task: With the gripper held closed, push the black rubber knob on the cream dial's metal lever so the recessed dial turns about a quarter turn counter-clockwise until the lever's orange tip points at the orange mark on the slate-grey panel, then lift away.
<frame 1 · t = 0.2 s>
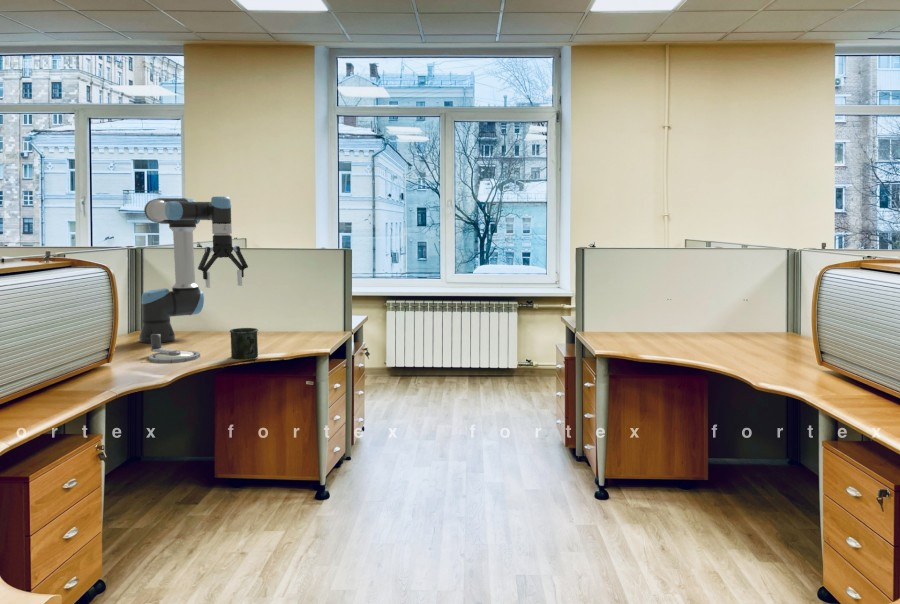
hand: (224, 286, 292), 28 cm above the table, fingers open, 13 cm apart
mug: (246, 361, 279), on the table
panel: (174, 361, 278), on the table
dial: (169, 346, 279), point 5 cm above the table, hinge at 0.0°
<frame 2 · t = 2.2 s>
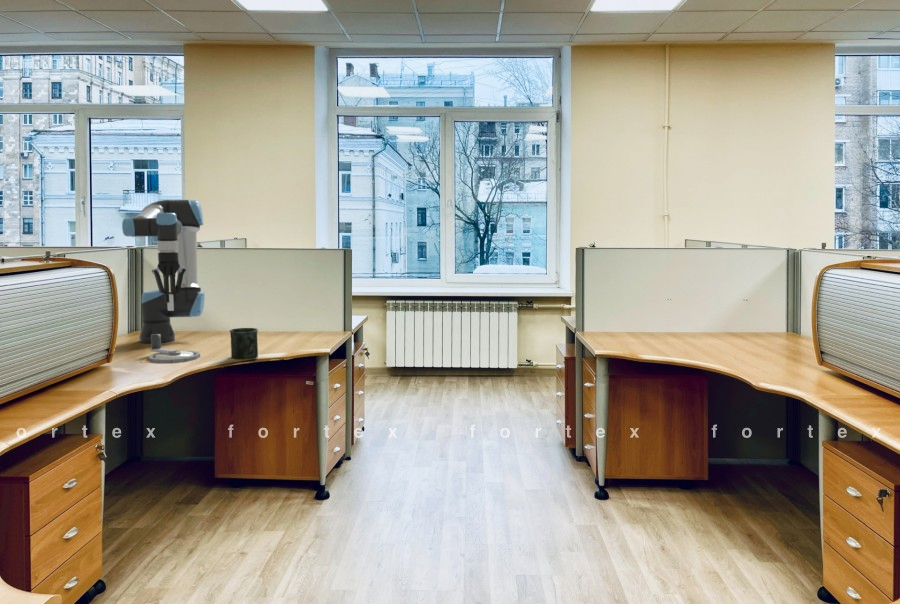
hand: (170, 310, 286), 19 cm above the table, fingers closed
nothing on the table moved.
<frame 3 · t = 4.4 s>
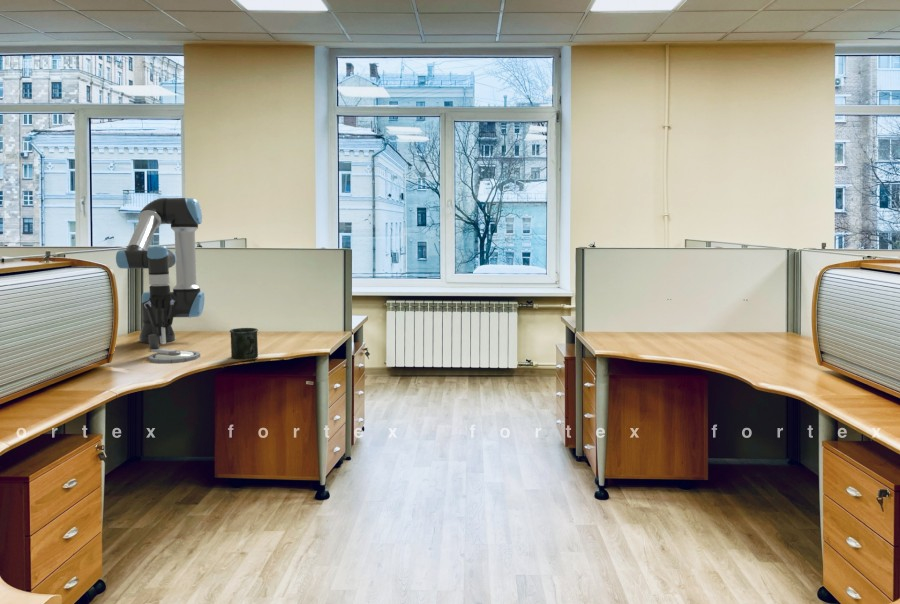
hand: (163, 343, 285), 6 cm above the table, fingers closed
dial: (168, 346, 279), point 5 cm above the table, hinge at 5.7°, touching gripper
everything else where it was.
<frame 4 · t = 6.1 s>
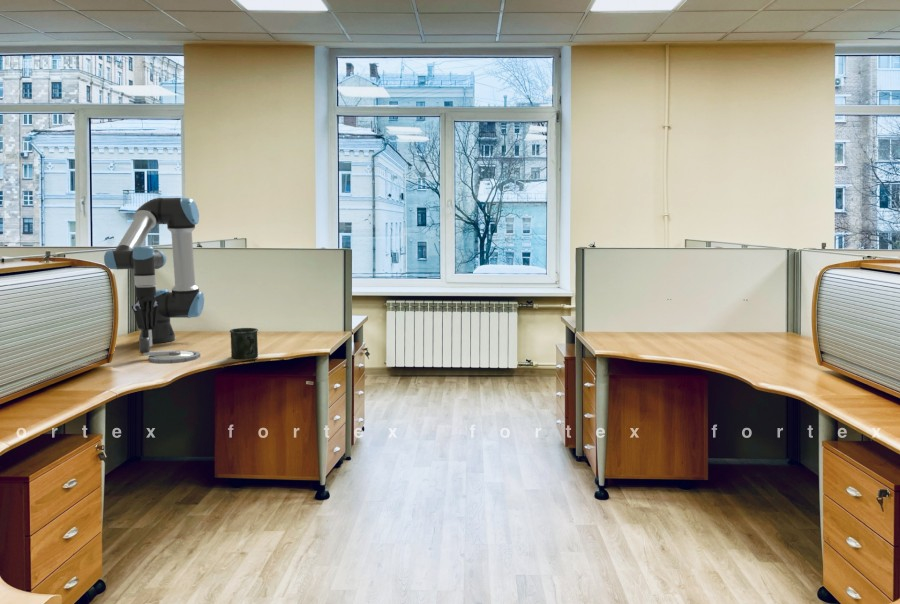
hand: (148, 346, 278), 6 cm above the table, fingers closed
dial: (166, 347, 277), point 5 cm above the table, hinge at 44.6°, touching gripper
everything else where it was.
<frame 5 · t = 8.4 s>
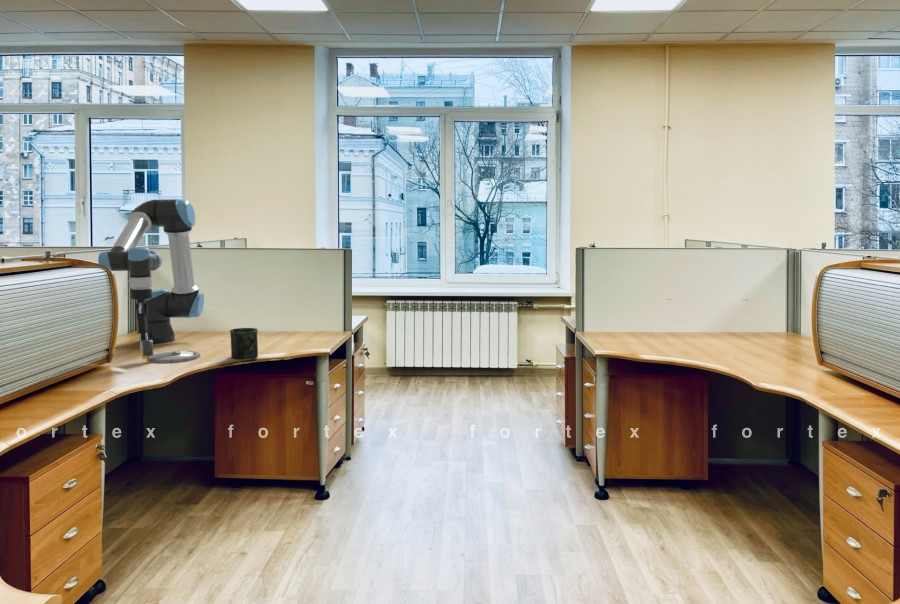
hand: (144, 349, 272), 6 cm above the table, fingers closed
dial: (167, 348, 275), point 5 cm above the table, hinge at 82.1°, touching gripper
everything else where it was.
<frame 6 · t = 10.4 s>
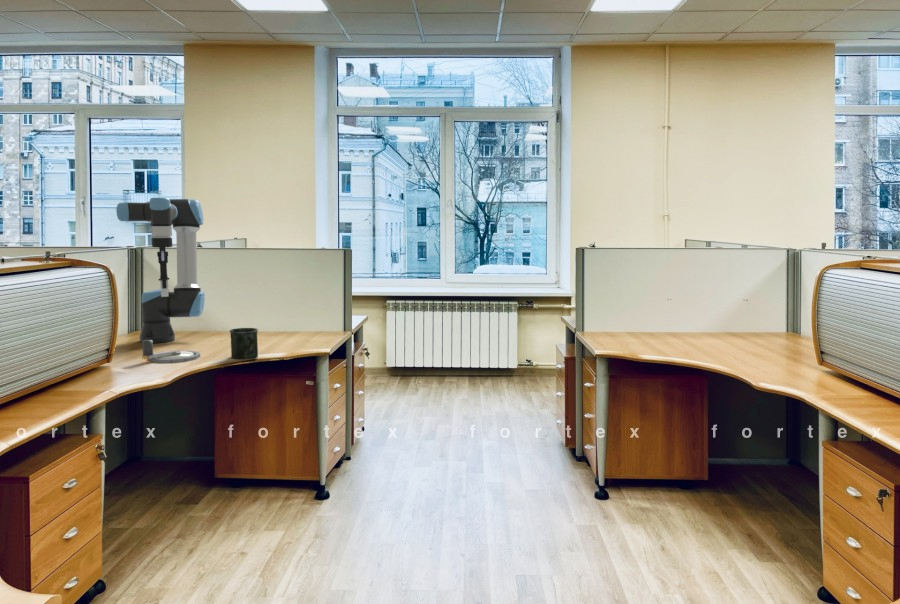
hand: (164, 296, 283), 25 cm above the table, fingers closed
dial: (167, 348, 275), point 5 cm above the table, hinge at 82.1°
everything else where it was.
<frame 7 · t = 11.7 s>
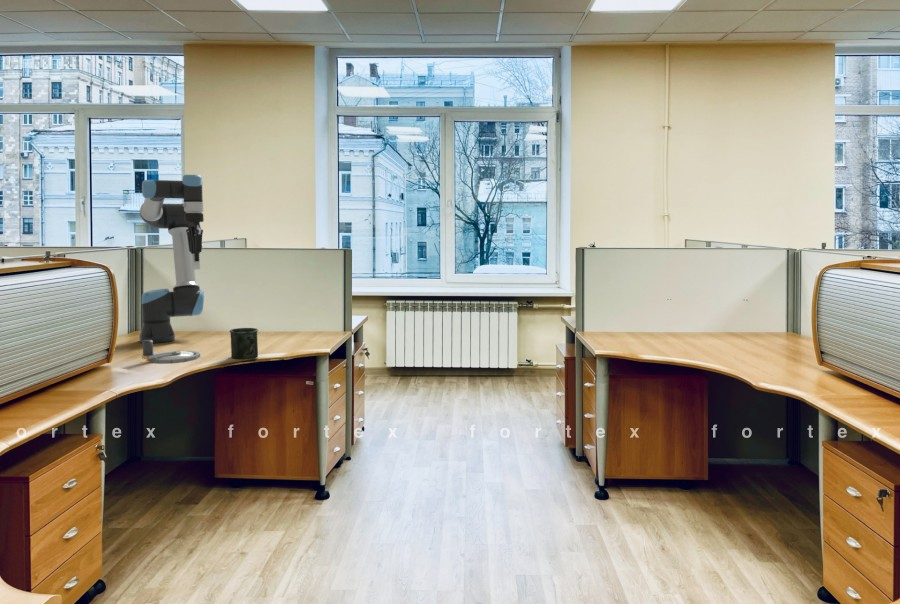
hand: (196, 269, 297), 34 cm above the table, fingers closed
nothing on the table moved.
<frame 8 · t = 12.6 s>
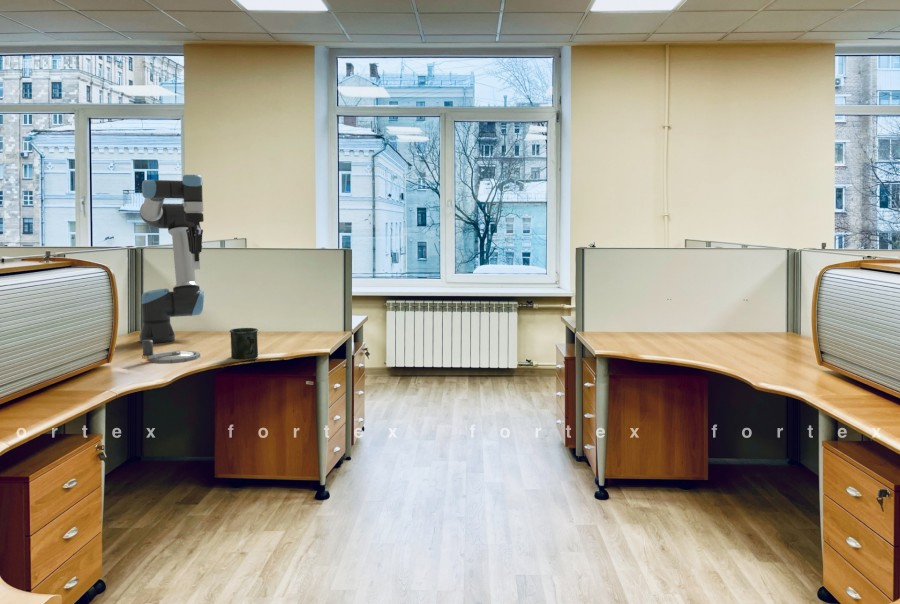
hand: (196, 269, 297), 34 cm above the table, fingers closed
nothing on the table moved.
at the end: dial at +82° (first picture: +0°) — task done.
